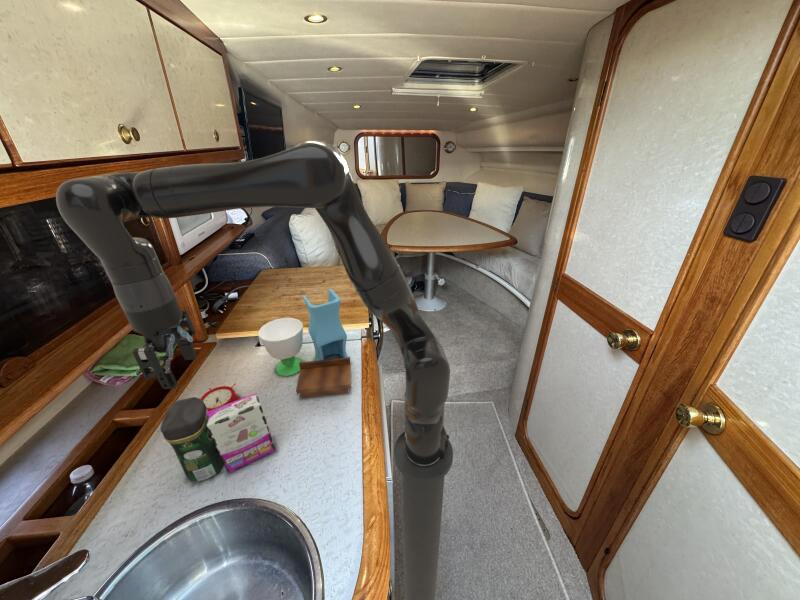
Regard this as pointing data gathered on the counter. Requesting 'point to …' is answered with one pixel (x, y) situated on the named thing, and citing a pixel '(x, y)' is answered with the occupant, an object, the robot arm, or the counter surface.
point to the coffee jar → (192, 439)
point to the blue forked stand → (326, 327)
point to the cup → (283, 343)
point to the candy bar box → (240, 432)
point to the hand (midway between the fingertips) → (181, 372)
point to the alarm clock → (219, 397)
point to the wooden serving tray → (324, 377)
